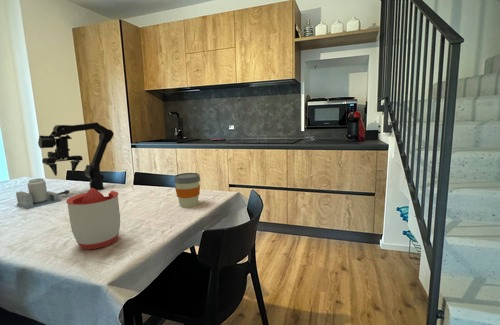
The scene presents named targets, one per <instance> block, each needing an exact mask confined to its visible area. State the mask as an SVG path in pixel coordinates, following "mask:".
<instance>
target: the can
mask: <svg viewBox="0 0 500 325" xmlns="http://www.w3.org/2000/svg"><path fill="white" fill-rule="evenodd" d="M46 183H47V182H46V181H45V180H44V178H32V179H29V180H28V182H27V188H28V189H27V190H28V193H29V194H32V200H33V203H40V202H44V201H46V200H47V199H48V194H47V191H48V190H47V184H46Z"/></svg>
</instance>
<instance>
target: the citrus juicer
mask: <svg viewBox="0 0 500 325" xmlns="http://www.w3.org/2000/svg"><path fill="white" fill-rule="evenodd" d="M119 202H120V201H119V192H118V191H116V190H115V191H114V190H111V191H109V192H108V195H107V196H104V194H103V193H101V192H100V191H99V190H96V189H94V188H91V189H90V188H89V190H88V191H87V192H84V193H80V194H76V195H74V196H71V197H68V198H67V199H66V201H65V203H67V209H68V216H69V223H70V228H71V232H72V234H73V237H74V239H75V242H76V243H77V245H78V246H79V248H81V249H84V250H96V249H102V248H101V247H103V248H106V247H107V246H109V245H112V244H113V243H115V242H116V241H117V240H118V236H119V234H120V228H121V214H120V203H119ZM105 246H106V247H105Z"/></svg>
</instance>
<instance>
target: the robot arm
mask: <svg viewBox="0 0 500 325" xmlns="http://www.w3.org/2000/svg"><path fill="white" fill-rule="evenodd" d="M87 130H89V131H90V130H94V132H95V133H97V134H98V144H97V146H96V149H95V152H94V156H93V158H92V160H91V163H89V164H86V166H85V169H84V170H83V172H84V176H85V177H87V178H88V179H89V183H88V184H89V190H90V189H91V188H94V189H96V190H98V191H99V190H104V189H105V187H104V181H103V180H104V177H105V176H104V175H103V174H101V173H100V172H101V168H100V166H101V162H102V159H103V157H104V155H105V151H106V149H107V146H108V144H109V142H111V141H112V140H113V137H114V135H115V134H114V131H113V130H112V129H109V128H107V127H105V126H104V125H101V124H100V123H99V122H91V123H90V122H89V123H81V124H80V123H79V124H73V125H70V124H56V125H54V127H53V129H52V132H51V133H50V134H49V135H39V137H38V141H37V145H38V147H39V149H49V148H50V149H53V148H55V149H54V152H53V151H47V157H45V158H42V160H41V161H42V164H45V165H46V166H49V168H50V169H51V171H52V173H53V174H54V176H55V177H56V176H58V166H57V165H58V164H57V162H67V161H68V162H70V164H71V165H70V166H71V174H75V171H76V169H77V167H78V165H79V164H80V163H81V162H82V161H83V159H84V158H83V156H82V155H77V154H76V155H70V153H69V152H70V151H71V149H70V148H69V141H68V140H72V139H73V138H72V137H71V136H70V134H72V133H76V132H80V131H82V132H84V131H87Z"/></svg>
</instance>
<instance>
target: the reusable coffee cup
mask: <svg viewBox="0 0 500 325" xmlns="http://www.w3.org/2000/svg"><path fill="white" fill-rule="evenodd" d="M200 181H201V176H200V173H197V172H183V173H178V174H175V175H174V180H173V182H174V183H175V184H174V185H175V194H176V197H177V198H178V203H179V206H180V207H181V208H193V207H195V206H198V205H199V196H200V191H201V184H200Z"/></svg>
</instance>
